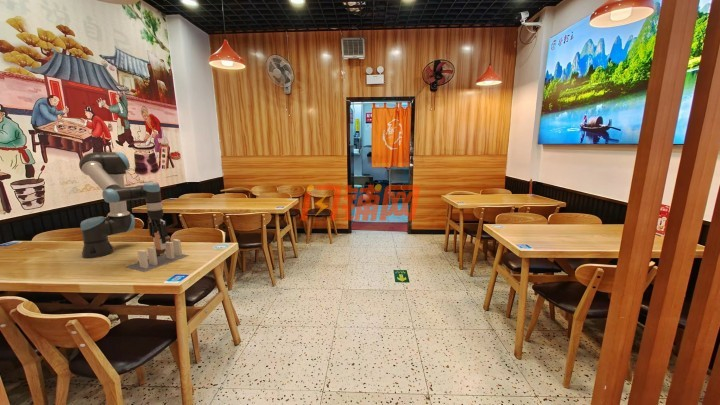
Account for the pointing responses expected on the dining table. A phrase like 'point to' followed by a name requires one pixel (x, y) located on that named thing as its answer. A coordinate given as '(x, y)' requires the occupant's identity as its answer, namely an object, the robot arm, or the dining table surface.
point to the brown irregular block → (164, 249)
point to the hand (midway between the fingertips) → (160, 248)
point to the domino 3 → (157, 241)
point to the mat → (161, 261)
